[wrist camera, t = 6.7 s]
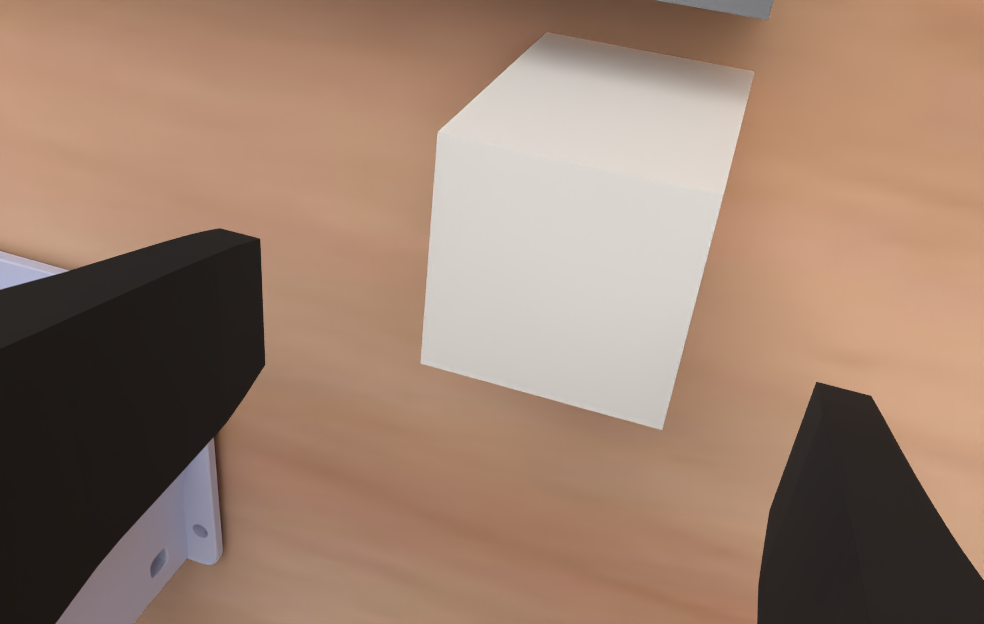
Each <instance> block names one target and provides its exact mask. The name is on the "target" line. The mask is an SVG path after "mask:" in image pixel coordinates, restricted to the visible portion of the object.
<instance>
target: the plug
mask: <svg viewBox="0 0 984 624" xmlns="http://www.w3.org/2000/svg"><path fill="white" fill-rule="evenodd" d="M754 73H755V71H749V70H744V69H739V68H734V67H728V66H723V65H718V64H713V63H707V62H702V61H697V60H692V59H686V58H681V57H676V56H671V55H665V54H660V53H655V52H650V51H644V50H639V49H634V48H629V47H623V46H618V45H613V44H608V43H603V42H597V41H592V40H587V39H582V38H576V37H571V36H566V35H561V34H555V33H550V32H546V33H545V34H544V35H543V36H542V37H541V38H540V39H538V40H537V41H536V42H535V43H534V44H533V45H532V46H531V47H530V48H529V49H528V50H526V51H525V52H524V53H523V54H522V55H521V56H520V57H519V58H518V59H517V60H516V61H514V62H513V63H512V64H511V65H510V66H509V67H508V68H507V69H506V70H505V71H504V72H502V73H501V74H500V75H499V76H498V77H497V78H496V79H495V80H494V81H493V82H492V83H491V84H489V85H488V86H487V87H486V88H485V89H484V90H483V91H482V92H481V93H480V94H479V95H477V96H476V97H475V98H474V99H473V100H472V101H471V102H470V103H469V104H468V105H467V106H465V107H464V108H463V109H462V110H461V111H460V112H459V113H458V114H457V115H456V116H455V117H453V118H452V119H451V120H450V121H449V122H448V123H447V124H446V125H445V126H444V127H443V128H441V129H440V130H439V131H438V133H437V147H436V161H435V174H434V188H433V201H432V215H431V229H430V242H429V256H428V269H427V283H426V296H425V310H424V324H423V337H422V351H421V364H424V365H428V366H431V367H435V368H439V369H442V370H446V371H449V372H453V373H457V374H460V375H464V376H468V377H471V378H475V379H478V380H482V381H486V382H489V383H493V384H496V385H500V386H504V387H507V388H511V389H515V390H518V391H522V392H525V393H529V394H533V395H536V396H540V397H544V398H547V399H551V400H554V401H558V402H562V403H565V404H569V405H572V406H576V407H580V408H583V409H587V410H591V411H594V412H598V413H601V414H605V415H609V416H612V417H616V418H620V419H623V420H627V421H630V422H634V423H638V424H641V425H645V426H649V427H652V428H656V429H659V430H662V429H663V425H664V421H665V417H666V414H667V410H668V406H669V402H670V398H671V394H672V391H673V387H674V383H675V379H676V375H677V371H678V368H679V364H680V360H681V356H682V352H683V348H684V345H685V341H686V337H687V333H688V329H689V325H690V322H691V318H692V314H693V310H694V306H695V302H696V299H697V295H698V291H699V287H700V283H701V279H702V276H703V272H704V268H705V264H706V260H707V256H708V253H709V249H710V245H711V241H712V237H713V233H714V230H715V226H716V222H717V218H718V214H719V210H720V207H721V203H722V199H723V195H724V191H725V187H726V183H727V179H728V175H729V171H730V167H731V163H732V160H733V156H734V152H735V148H736V144H737V140H738V136H739V132H740V128H741V124H742V120H743V116H744V112H745V108H746V104H747V100H748V96H749V92H750V88H751V85H752V81H753V77H754Z"/></svg>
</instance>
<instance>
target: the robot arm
mask: <svg viewBox="0 0 984 624" xmlns="http://www.w3.org/2000/svg"><path fill="white" fill-rule="evenodd" d="M264 366H265V348H264V323H263V298H262V272H261V247H260V239H259V238H255V237H251V236H247V235H243V234H239V233H236V232H232V231H228V230H224V229H220V228H219V229H214V230H209V231H203V232H199V233H195V234H191V235H187V236H183V237H180V238H176V239H173V240H169V241H166V242H162V243H159V244H156V245H152V246H149V247H146V248H142V249H139V250H136V251H133V252H129V253H126V254H123V255H119V256H116V257H113V258H110V259H106V260H103V261H100V262H96V263H93V264H90V265H87V266H83V267H80V268H77V269H73V270H66V269H62V268H59V267H55V266H52V265H48V264H44V263H41V262H37V261H34V260H30V259H26V258H23V257H19V256H16V255H12V254H8V253H5V252H1V251H0V624H134V623H135V621H136V620H137V619H138V618H139V616H140V615H141V614H142V613H143V612H144V610H145V609H146V608H147V607H148V606H149V604H150V603H151V602H152V601H153V599H154V598H155V597H156V596H157V595H158V593H159V592H160V591H161V590H162V588H163V587H164V586H165V585H166V584H167V582H168V581H169V580H170V579H171V577H172V576H173V575H174V574H175V573H176V571H177V570H178V569H179V568H180V566H181V565H182V564H183V563H184V562H185V560H186V559H190V560H193V561H196V562H199V563H202V564H205V565H213V564H215V563H216V562H217V561H218V560H219V558H220V557H221V556H222V553H223V546H222V534H221V521H220V509H219V496H218V484H217V471H216V459H215V447H214V436H215V435H216V434H217V433H218V432H219V430H220V429H221V428H222V427H223V426H224V425H225V424H226V422H227V421H228V420H229V418H230V417H231V415H232V414H233V413H234V411H235V410H236V408H237V407H238V405H239V404H240V403H241V401H242V400H243V398H244V397H245V395H246V394H247V392H248V391H249V389H250V388H251V386H252V384H253V383H254V381H255V380H256V378H257V377H258V375H259V373H260V372H261V370H262V369H263V367H264ZM757 624H984V580H983V579H982V577H981V576H980V575H979V573H978V572H977V570H976V569H975V568H974V566H973V565H972V563H971V562H970V561H969V559H968V558H967V556H966V555H965V554H964V552H963V551H962V549H961V548H960V546H959V545H958V543H957V542H956V540H955V539H954V537H953V536H952V534H951V533H950V531H949V529H948V528H947V526H946V525H945V523H944V521H943V520H942V518H941V517H940V515H939V513H938V512H937V510H936V508H935V507H934V505H933V504H932V502H931V500H930V499H929V497H928V496H927V494H926V492H925V491H924V489H923V487H922V485H921V484H920V482H919V480H918V479H917V477H916V475H915V473H914V472H913V470H912V468H911V466H910V465H909V463H908V461H907V459H906V458H905V456H904V454H903V452H902V450H901V449H900V447H899V445H898V443H897V441H896V440H895V438H894V436H893V434H892V432H891V430H890V429H889V427H888V425H887V423H886V421H885V419H884V418H883V416H882V414H881V412H880V411H879V409H878V407H877V405H876V404H875V402H874V400H873V399H872V397H871V396H869V395H865V394H861V393H857V392H854V391H850V390H846V389H842V388H838V387H834V386H830V385H826V384H823V383H819V382H816V385H815V387H814V390H813V393H812V396H811V398H810V401H809V404H808V407H807V409H806V412H805V415H804V418H803V420H802V423H801V426H800V428H799V431H798V434H797V437H796V439H795V442H794V445H793V448H792V450H791V453H790V456H789V459H788V461H787V464H786V467H785V470H784V472H783V475H782V478H781V481H780V483H779V486H778V489H777V492H776V494H775V497H774V500H773V503H772V505H771V508H770V511H769V518H768V524H767V530H766V537H765V543H764V550H763V556H762V563H761V570H760V577H759V585H758V623H757Z"/></svg>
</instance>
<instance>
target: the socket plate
mask: <svg viewBox="0 0 984 624" xmlns="http://www.w3.org/2000/svg"><path fill="white" fill-rule="evenodd" d="M657 1H663V2H669V3H674V4H680V5H685V6H691V7H697V8H702V9H708V10H713V11H719V12H725V13H730V14H736V15H741V16H747V17H753V18H758V19H764V20H768V19H769V15H770V11H771V7H772V4H773V0H657Z"/></svg>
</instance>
